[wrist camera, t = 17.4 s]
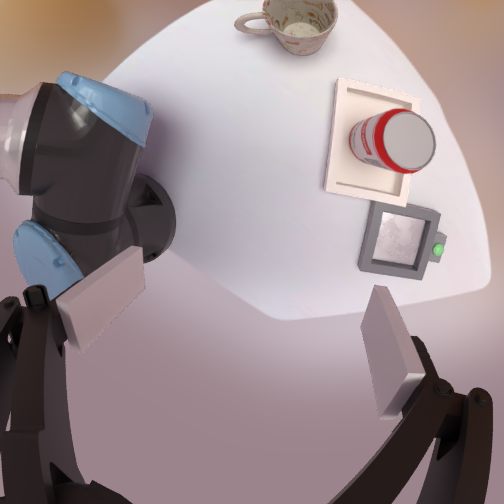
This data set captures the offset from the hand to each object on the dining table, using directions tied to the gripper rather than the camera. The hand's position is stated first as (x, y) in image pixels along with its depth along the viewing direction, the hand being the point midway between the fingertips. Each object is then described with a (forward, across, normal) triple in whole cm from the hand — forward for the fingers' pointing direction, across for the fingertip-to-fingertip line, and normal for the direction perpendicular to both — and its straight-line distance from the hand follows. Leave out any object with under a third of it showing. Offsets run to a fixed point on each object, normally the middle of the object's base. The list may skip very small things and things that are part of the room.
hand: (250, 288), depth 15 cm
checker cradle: (+27, +19, -3) cm, 33 cm away
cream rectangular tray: (+27, +11, +10) cm, 31 cm away
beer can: (+26, +11, +10) cm, 30 cm away
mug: (+27, -2, +24) cm, 36 cm away
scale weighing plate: (+28, +18, -3) cm, 33 cm away
